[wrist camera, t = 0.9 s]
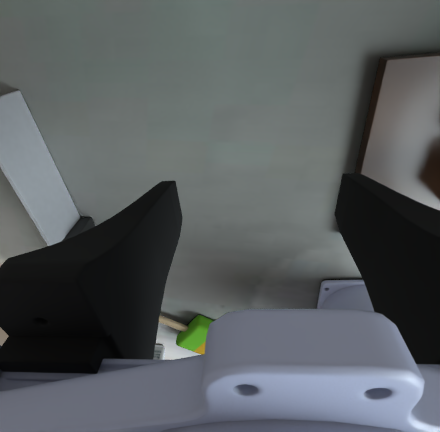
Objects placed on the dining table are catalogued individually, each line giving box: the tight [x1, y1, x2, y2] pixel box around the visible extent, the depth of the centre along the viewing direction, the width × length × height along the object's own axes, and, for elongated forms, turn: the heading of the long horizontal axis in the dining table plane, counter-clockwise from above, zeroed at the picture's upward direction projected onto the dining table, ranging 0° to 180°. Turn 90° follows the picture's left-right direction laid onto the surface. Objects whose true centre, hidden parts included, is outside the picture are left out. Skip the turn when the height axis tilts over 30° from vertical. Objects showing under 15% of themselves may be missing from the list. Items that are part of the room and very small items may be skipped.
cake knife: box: [0, 90, 95, 246], centre depth 23 cm, size 19×2×4 cm, turn 5°
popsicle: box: [159, 315, 213, 355], centre depth 34 cm, size 6×15×2 cm, turn 58°
